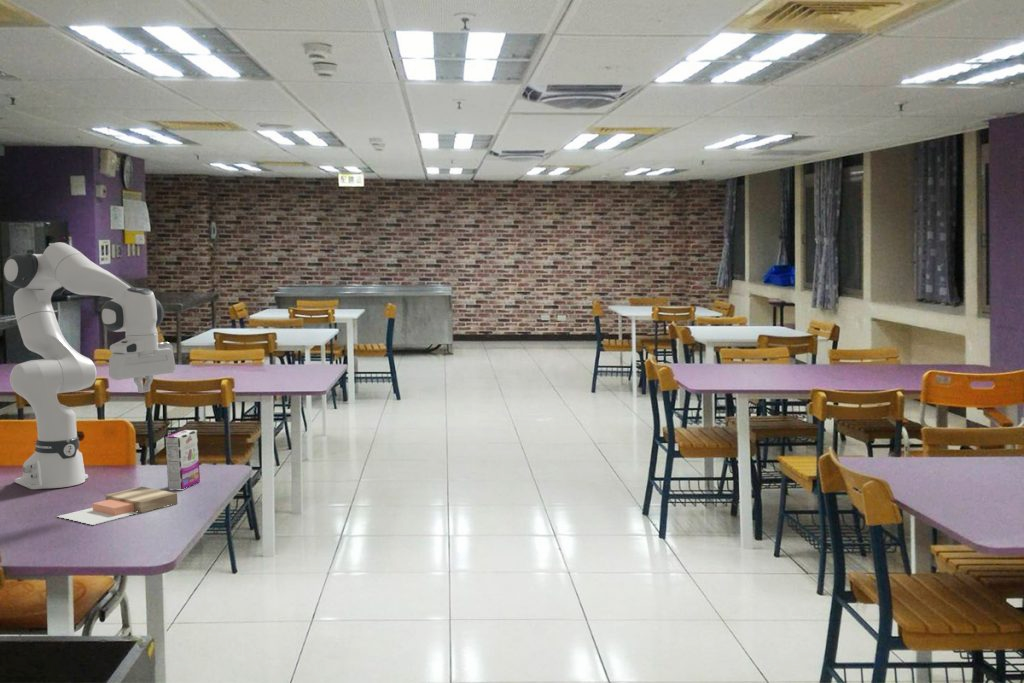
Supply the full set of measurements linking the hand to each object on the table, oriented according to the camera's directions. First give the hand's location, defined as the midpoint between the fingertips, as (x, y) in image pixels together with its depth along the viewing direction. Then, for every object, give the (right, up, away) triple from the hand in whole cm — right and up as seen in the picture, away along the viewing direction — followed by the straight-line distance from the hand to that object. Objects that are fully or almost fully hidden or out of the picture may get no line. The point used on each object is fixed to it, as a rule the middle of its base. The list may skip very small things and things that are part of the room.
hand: (144, 391), depth 301 cm
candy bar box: (+6, -30, +16) cm, 34 cm away
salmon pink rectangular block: (-4, -32, -13) cm, 35 cm away
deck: (+1, -32, -6) cm, 32 cm away
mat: (-6, -33, -17) cm, 38 cm away
